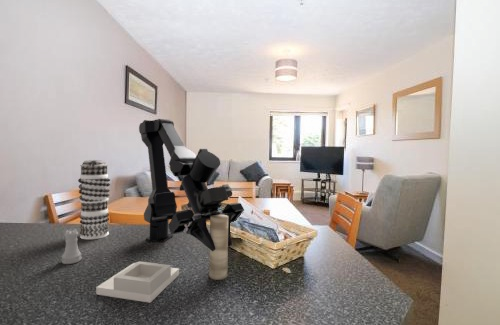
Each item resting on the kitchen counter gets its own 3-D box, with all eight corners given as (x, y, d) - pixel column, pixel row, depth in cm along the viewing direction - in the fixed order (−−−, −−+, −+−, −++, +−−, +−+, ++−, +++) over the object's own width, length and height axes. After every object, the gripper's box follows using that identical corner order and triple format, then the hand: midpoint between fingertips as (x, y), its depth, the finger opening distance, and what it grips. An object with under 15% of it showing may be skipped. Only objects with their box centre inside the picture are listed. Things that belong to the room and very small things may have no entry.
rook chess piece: (71, 265, 68) (71, 233, 67) (56, 263, 68) (56, 232, 68) (86, 258, 72) (85, 228, 72) (71, 257, 73) (71, 227, 72)
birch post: (212, 270, 66) (213, 214, 66) (229, 272, 66) (230, 215, 65) (206, 278, 62) (207, 218, 62) (224, 280, 62) (225, 219, 61)
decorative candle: (88, 241, 84) (87, 161, 83) (73, 236, 89) (72, 160, 88) (115, 234, 92) (115, 160, 91) (100, 229, 97) (100, 159, 96)
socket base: (133, 269, 66) (133, 252, 66) (179, 274, 64) (179, 258, 64) (96, 294, 55) (96, 274, 54) (150, 302, 52) (150, 282, 52)
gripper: (174, 175, 60) (200, 238, 52) (240, 172, 72) (269, 222, 64) (159, 205, 66) (180, 264, 58) (222, 197, 78) (246, 245, 71)
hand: (222, 248), depth 63 cm, fingers closed on birch post, 4 cm apart
